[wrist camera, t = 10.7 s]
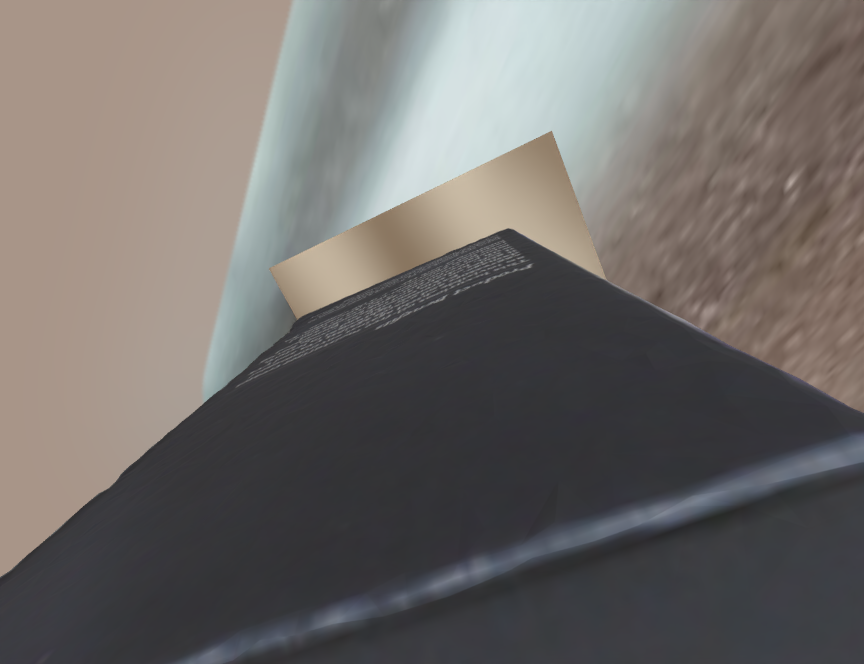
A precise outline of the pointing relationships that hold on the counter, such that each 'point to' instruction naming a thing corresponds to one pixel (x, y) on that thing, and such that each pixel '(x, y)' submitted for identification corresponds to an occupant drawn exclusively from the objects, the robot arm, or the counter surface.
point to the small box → (472, 495)
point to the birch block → (447, 227)
